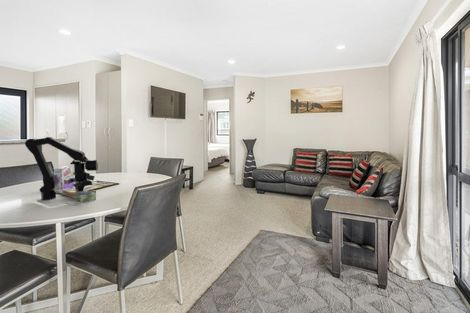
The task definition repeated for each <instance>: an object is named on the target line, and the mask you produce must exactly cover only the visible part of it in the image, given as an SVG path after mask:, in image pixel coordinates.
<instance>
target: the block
mask: <svg viewBox="0 0 470 313" xmlns="http://www.w3.org/2000/svg"><path fill="white" fill-rule="evenodd" d="M87 190H88V189H85V190H83V191H79V192H78V194H79V195H86V194H90V191H87Z"/></svg>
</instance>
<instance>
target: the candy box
mask: <svg viewBox="0 0 470 313" xmlns="http://www.w3.org/2000/svg"><path fill="white" fill-rule="evenodd" d="M52 171H53V175H57V178H58V180H59V181H58V185H57V186H56V187H55V189H53V190H55V191H60V190H66V189H71V187H72V188H75V187H74V185H73V184H74V182H72V183H69V181H68V180H69V179H70V178H75V175H74V174H73V173H74V165H71V166H70V165H64V166H60V167H55V168H52Z"/></svg>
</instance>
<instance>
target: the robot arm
mask: <svg viewBox="0 0 470 313" xmlns="http://www.w3.org/2000/svg"><path fill="white" fill-rule="evenodd" d="M24 144H25V147H26V149H27V150H28V152H30V153H31V154H32V155H33V157H34V159H35V162H36V163H37V166H38V168H39V171H40V173H41V175H42V184H43V185H42V186H41V187H40V188H39V192H40V197H41V198H40V199H41V200H42V201H47V200H54V199H57V193H56V190H54V189H55V187H56V186H57V185H58V181H59V180H58V178H57V175H54V173H52V171H51V169H50V167H49V165H48V163H47V160H46V158H45V155H44V154H43V146H44V145H50V146H51V147H53V148H55V149H57V150H59V151H61V152H63V153H65V154H66V155H68V156H69V157H70V158H72V159H73V160H72V161H71V162H70V163H69V165H73V176H74V178H70V179H69V180H68V181H69V183H72V182H74V184H73V185H74V187H73V188H76V190H77V191H78V192H79V191H84V188H85V187H87V186H92V185H93V182H94V180H95V177H96V176H95V175H91V174H90V171H92V172H93V171H98V170H99V164H98V160H97V159H93V160H90V159H88V158H87V157H86V153H85V152H84V151H82V150H79V149H76V148H72V147H70V146H68V145H66V144H65V143H62V142H61V141H58V140H57V139H55V138H54V137H52V136H47V137H43V138H29V139H26V140H25V142H24ZM87 171H88V172H89V173H88V172H87Z"/></svg>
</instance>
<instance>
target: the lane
mask: <svg viewBox="0 0 470 313" xmlns="http://www.w3.org/2000/svg"><path fill="white" fill-rule="evenodd" d="M74 188H75V187H74ZM61 190H62V195H63V196H65V197H69V198H72V199H75V200H76V201H77V202H78V203H86V202H91V201H96V200H97V196H96V195H97V191H96V190H95V189H86V190H87V191H90V194H86V195H79V194H78V191H77V190H76V188H75V192H72V191H69V190H66V189H61Z"/></svg>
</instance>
